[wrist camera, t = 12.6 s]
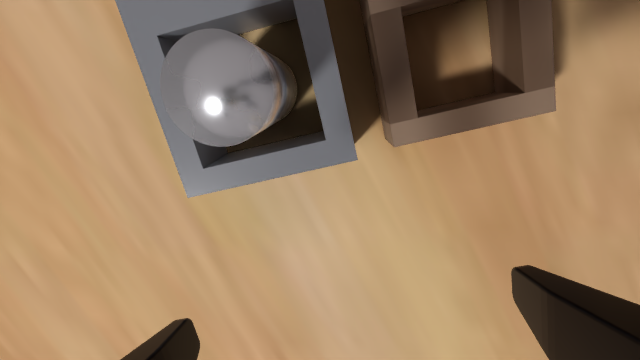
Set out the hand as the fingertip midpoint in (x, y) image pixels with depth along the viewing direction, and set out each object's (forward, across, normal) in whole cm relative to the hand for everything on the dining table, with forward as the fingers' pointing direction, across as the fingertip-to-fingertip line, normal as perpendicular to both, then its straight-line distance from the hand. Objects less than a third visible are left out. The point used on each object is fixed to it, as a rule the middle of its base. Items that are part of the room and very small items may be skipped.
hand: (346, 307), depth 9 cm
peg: (+12, +3, -6) cm, 14 cm away
